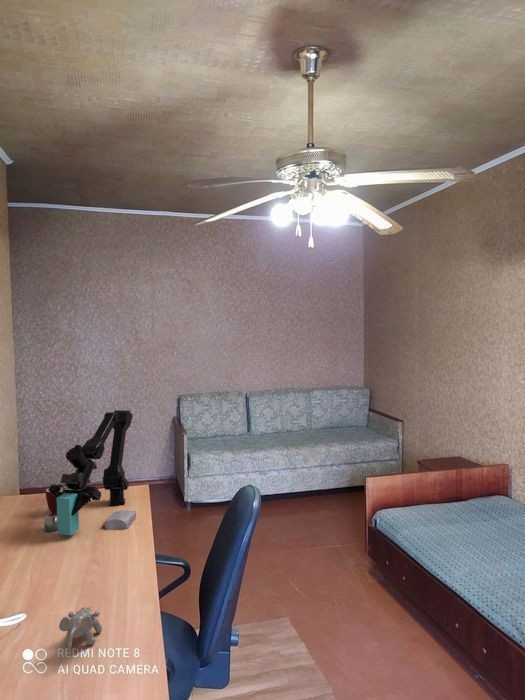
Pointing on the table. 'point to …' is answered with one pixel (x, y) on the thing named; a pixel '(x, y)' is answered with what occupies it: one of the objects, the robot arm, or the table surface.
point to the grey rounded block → (51, 523)
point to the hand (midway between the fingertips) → (65, 514)
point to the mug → (52, 501)
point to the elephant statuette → (80, 626)
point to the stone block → (120, 519)
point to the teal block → (67, 514)
